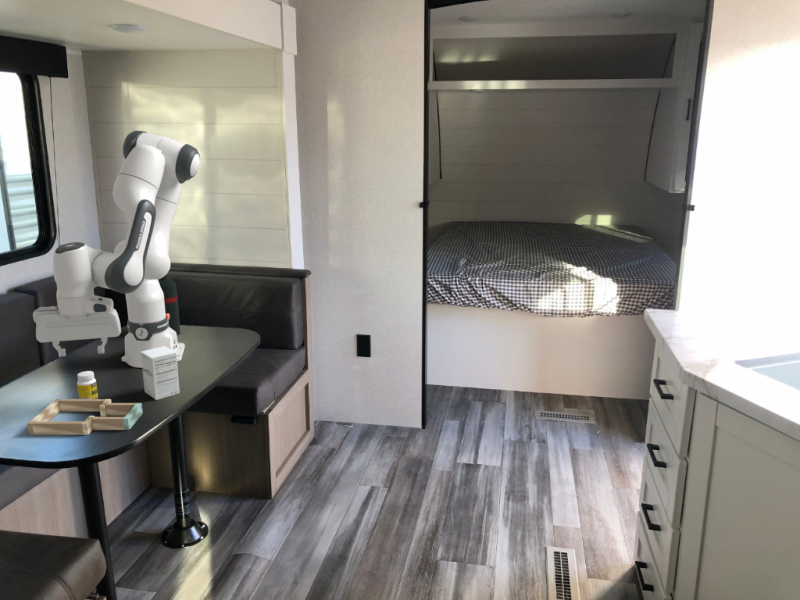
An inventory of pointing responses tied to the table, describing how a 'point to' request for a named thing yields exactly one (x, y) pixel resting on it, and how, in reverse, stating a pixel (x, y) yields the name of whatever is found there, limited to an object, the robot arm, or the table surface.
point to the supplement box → (160, 372)
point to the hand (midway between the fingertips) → (82, 354)
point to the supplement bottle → (87, 385)
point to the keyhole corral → (106, 408)
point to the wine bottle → (170, 302)
